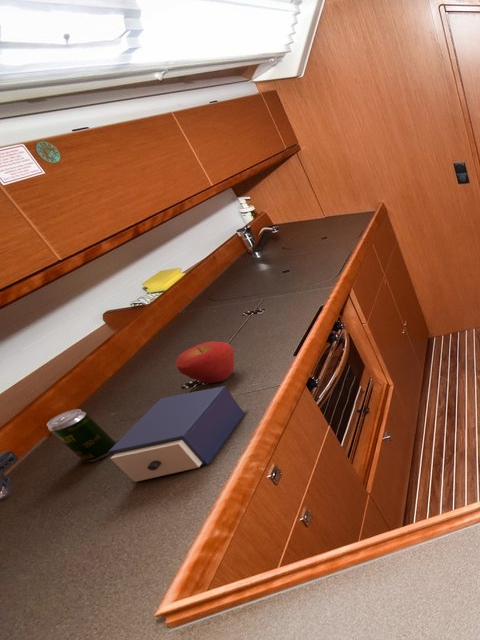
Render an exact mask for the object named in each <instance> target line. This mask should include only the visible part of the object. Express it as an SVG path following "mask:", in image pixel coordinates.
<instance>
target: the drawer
mask: <svg viewBox="0 0 480 640" xmlns="http://www.w3.org/2000/svg"><path fill="white" fill-rule="evenodd" d="M110 460H111V461H112V462H113V463H114V464H115V465H116V466H117V467H119V469H121V471H123V473H125V474H126V475H127V476H128V477H129V478H130V479H131V480H132V481H133V482H134V483H137V482H140V481H145V480H150V479H153V478H154V479H155V478H158V477H162V476H167V475H171V474H177V473H180V472H184V471H189V470H192V469H193V470H194V469H197V468H198V469H199V468H201V466H200V465H201V464H202V462H201V461H200V460H199V459H198V457H197V456H196V455H195V454H194V453H193V452H192V451H191V449H190V448H189V447H188V446H187V445H186V444H185V443H184V441H183V440H178V441H173V442H169V443H164V444H159V445H152V446H147V447H143V448H138V449H133V450H128V451H126V452H121V453H117V454H114V455H113V456H112V455H111V457H110Z"/></svg>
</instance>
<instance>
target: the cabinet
mask: <svg viewBox="0 0 480 640" xmlns="http://www.w3.org/2000/svg"><path fill="white" fill-rule="evenodd" d="M244 416H245V412H244V411H243V409H242V408H241V406H240V405H239V403H238V402H237V401H236V400H235V398H234V397H233V395H232V394H231V393H230V391H229V390H228V389H227V387H226V386H225V385H223V386H217V387H213V388H207V389H202V390H197V391H191V392H186V393H181V394H176V395H171V396H165V397H161V398H160V399H159V400H158V401H157V402H156V403H155V404H154V405H153V406H152V407H151V408H150V409H149V410H148V411H147V412H146V413H145V414H144V415H142V417H141V418H140V419H139V420H138V421H137V422H136V423H135V424H134V425H132V427H130V429H129V430H128V431H127V432H126V433H125V434H123V436H122V437H121V438H120V439H119V440H118V441H117V442H116V444H115V445H114V446H113V447H112V448H111V449H110V450H109V451H108V452H109V453H110V454H109V455H111V457H112V456H113V455H114V454H117V453H121V452H126V451H128V450H133V449H138V448H143V447H147V446H152V445H157V444H161V443H166V442H171V441H176V440H180V439H181V440H183V441H184V443H185V444H186V445H187V446H188V447H189V448H190V449H191V451H192V452H193V453H194V454H195V455H196V456H197V457H198V459H199V460H200V461H201V462H202V464H201V465H200V467H204V466H208V465H209V464H210V463H211V461H212V460H213V459H214V457H215V456H216V454H217V453H218V452H219V450H220V449H221V447H222V446H223V445H224V443H225V442H226V440H227V439H228V438H229V436H230V435H231V433H232V432H233V431H234V429H235V428H236V426H237V425H238V424H239V423H240V421H241V420H242V418H243V417H244Z"/></svg>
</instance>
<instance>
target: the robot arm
mask: <svg viewBox="0 0 480 640" xmlns="http://www.w3.org/2000/svg"><path fill="white" fill-rule="evenodd" d="M18 461H19V456H18V455H16V454H15V453H14V452H13V451H11V450H8V451H3V452H0V503H3V502H5V501H7V500H9V499H10V498H11V497H12V478H10V477H9V476H7V474H5V472H6V471H8V470H9V469H10V468H11V467H13V465H14V464H16V463H17V462H18Z"/></svg>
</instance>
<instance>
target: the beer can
mask: <svg viewBox="0 0 480 640" xmlns="http://www.w3.org/2000/svg"><path fill="white" fill-rule="evenodd" d="M46 427H48V428H47V429H48V430H49V432H51V433H52V434H53V435H54V436H55V437H56V438H57V439H59V441H61V442H62V443H63V444H64V445H65V446H66V447H67V448H68V449H70V450H71V452H73V453H74V454H75V455H76V456H77V457H78V458H80V459H81V460H82V462H88V463H93V462H96V461H99V460H101V459H104V458H105V457H107V456H109V455H111V454H110V453H109V452H108V451H109V450H110V449H111V448H112V447H113V446H114V445H115V444H116V443H117V442H116V441H115V440H114V439H113V438H112V437H111V436H110V435H109V434H108V433H107V432H106V431H105V430H104V429H103V428H102V427H101V426H100V425H99V424H98V423H97V422H96V421H95V420H94V419H93V418H92V417H91V416H90V415H89V414H88V413H86V411H82V409H79V408H77V409H72V410H68V411H65V412H62V413H61V414H60V413H59V414H58V415H56V416H54V417H52V418H51V419H50V420H49V421H48V422H47V423H46Z"/></svg>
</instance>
